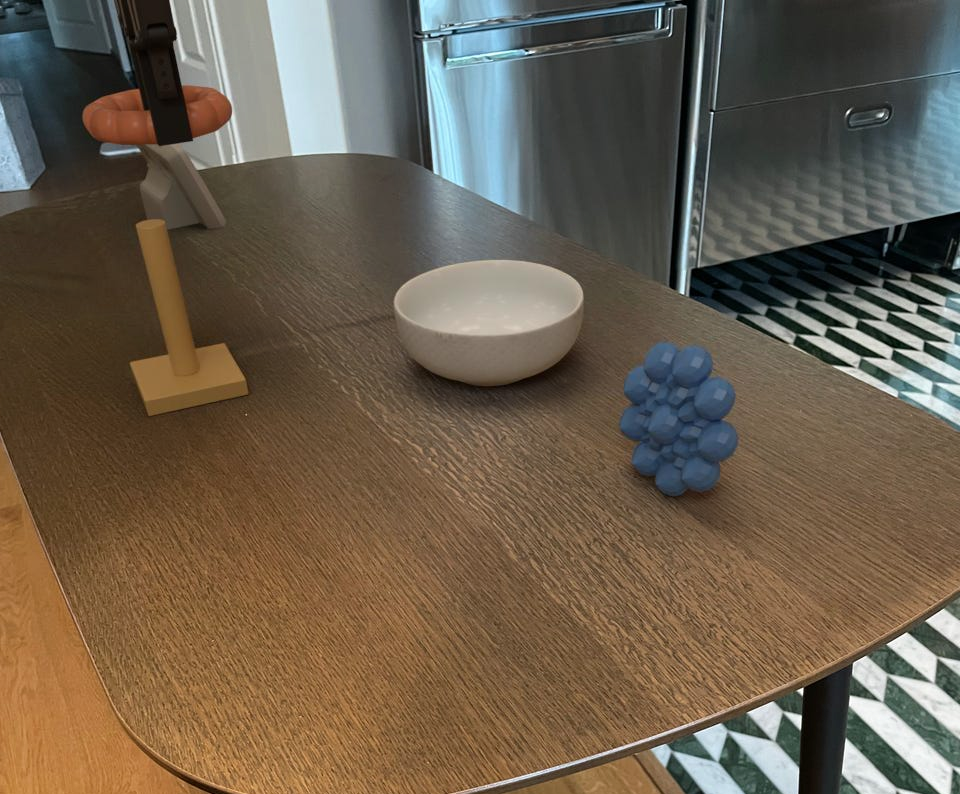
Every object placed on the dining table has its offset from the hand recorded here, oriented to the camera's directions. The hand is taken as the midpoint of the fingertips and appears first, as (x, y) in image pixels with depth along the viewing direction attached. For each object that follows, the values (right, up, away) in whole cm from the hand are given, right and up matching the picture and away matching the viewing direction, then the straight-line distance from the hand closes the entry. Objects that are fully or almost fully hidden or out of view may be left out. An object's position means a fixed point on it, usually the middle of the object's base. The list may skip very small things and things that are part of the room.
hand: (171, 137), depth 80 cm
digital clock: (-13, +13, +49) cm, 53 cm away
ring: (-2, +3, +3) cm, 5 cm away
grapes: (+40, -29, -5) cm, 50 cm away
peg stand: (-2, -17, +12) cm, 21 cm away
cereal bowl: (+26, -15, +12) cm, 32 cm away
